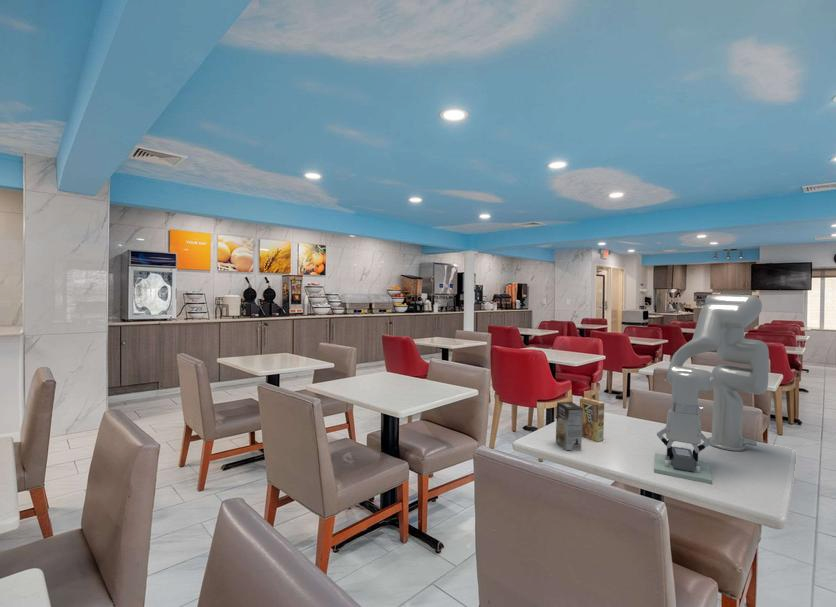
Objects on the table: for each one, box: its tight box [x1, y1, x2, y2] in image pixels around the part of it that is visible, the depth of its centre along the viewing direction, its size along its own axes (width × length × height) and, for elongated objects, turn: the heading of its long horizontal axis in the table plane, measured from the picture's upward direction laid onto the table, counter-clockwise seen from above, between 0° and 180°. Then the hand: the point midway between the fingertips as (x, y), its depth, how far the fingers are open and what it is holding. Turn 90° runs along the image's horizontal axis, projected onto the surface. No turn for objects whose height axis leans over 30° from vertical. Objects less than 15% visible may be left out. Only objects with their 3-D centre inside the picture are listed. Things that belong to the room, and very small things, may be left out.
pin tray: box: [653, 452, 713, 485], centre depth 147 cm, size 16×16×3 cm
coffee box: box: [555, 401, 583, 451], centre depth 166 cm, size 9×6×16 cm
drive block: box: [671, 446, 695, 472], centre depth 147 cm, size 6×10×4 cm, turn 156°
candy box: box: [579, 397, 605, 442], centre depth 176 cm, size 9×4×15 cm, turn 33°
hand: (681, 460), depth 148 cm, fingers closed on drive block, 6 cm apart
